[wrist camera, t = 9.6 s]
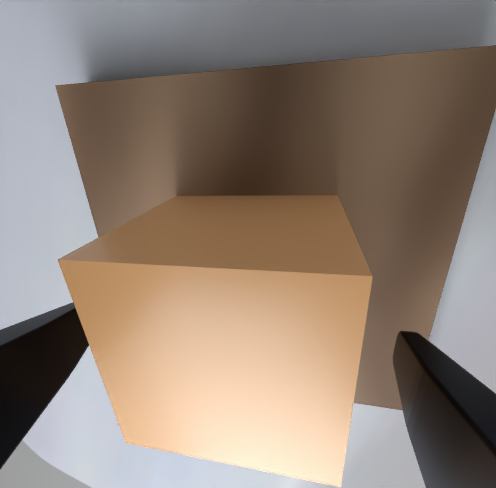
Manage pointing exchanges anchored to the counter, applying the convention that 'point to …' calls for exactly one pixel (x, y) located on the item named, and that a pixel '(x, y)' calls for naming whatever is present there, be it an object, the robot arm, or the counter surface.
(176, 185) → the post board
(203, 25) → the counter surface
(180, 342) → the peach wooden cube
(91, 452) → the counter surface
